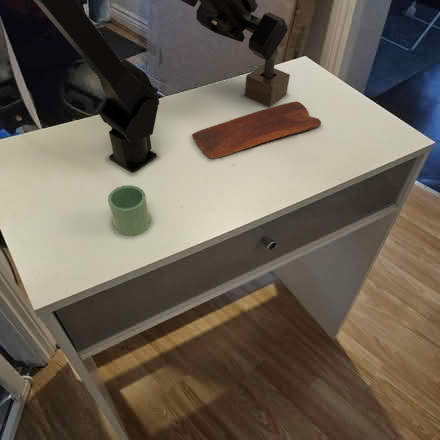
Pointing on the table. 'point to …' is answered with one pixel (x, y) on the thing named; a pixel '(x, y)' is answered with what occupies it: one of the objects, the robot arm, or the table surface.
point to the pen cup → (129, 210)
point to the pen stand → (266, 86)
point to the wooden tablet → (254, 129)
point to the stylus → (269, 69)
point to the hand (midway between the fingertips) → (259, 48)
